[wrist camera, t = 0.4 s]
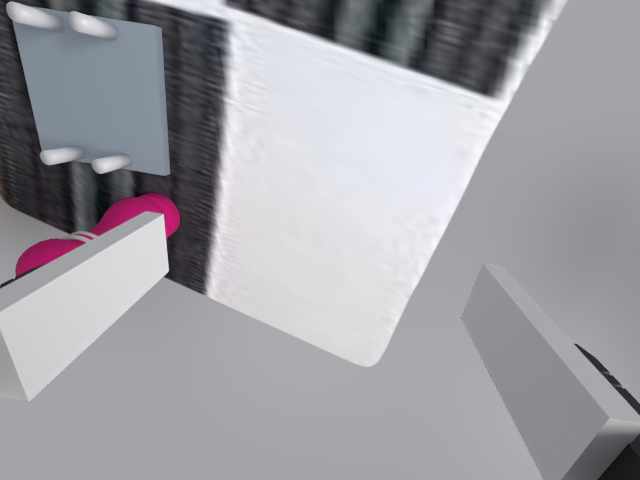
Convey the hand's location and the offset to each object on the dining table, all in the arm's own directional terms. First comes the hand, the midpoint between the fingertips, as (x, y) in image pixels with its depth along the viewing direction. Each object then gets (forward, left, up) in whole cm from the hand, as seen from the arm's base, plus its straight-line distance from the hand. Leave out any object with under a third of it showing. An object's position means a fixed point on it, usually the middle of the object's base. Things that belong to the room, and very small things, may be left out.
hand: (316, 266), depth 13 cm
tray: (-3, -29, -27) cm, 40 cm away
